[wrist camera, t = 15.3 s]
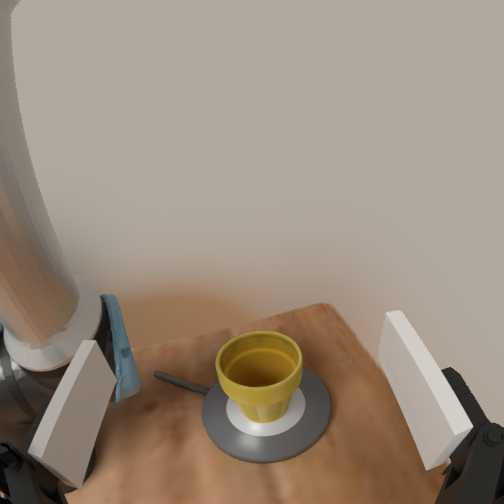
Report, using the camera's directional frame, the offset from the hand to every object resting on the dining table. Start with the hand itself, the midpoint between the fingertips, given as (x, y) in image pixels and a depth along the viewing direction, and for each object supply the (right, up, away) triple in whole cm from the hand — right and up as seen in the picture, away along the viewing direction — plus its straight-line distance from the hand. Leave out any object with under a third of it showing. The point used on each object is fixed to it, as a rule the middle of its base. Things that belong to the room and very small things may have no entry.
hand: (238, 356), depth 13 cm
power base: (-3, -18, +29) cm, 34 cm away
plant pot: (+2, -17, +26) cm, 31 cm away
